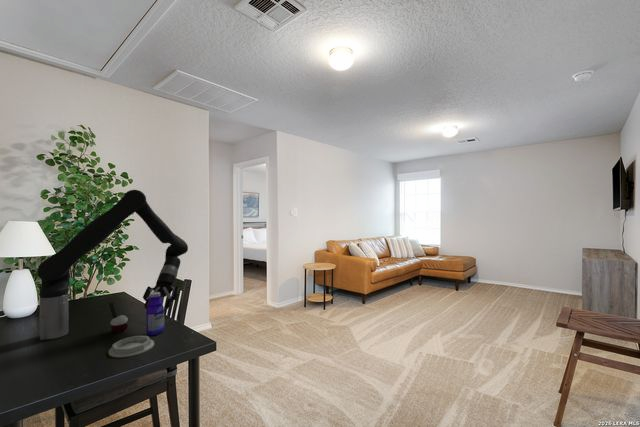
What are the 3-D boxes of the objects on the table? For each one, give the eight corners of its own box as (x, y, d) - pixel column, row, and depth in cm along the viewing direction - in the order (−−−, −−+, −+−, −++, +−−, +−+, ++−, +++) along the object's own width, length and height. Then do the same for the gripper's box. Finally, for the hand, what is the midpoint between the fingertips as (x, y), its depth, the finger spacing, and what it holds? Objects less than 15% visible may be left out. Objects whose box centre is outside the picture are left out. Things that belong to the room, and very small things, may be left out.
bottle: (155, 336, 128) (154, 295, 128) (143, 335, 130) (143, 294, 129) (167, 330, 135) (166, 291, 135) (155, 329, 137) (155, 290, 137)
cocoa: (130, 332, 134) (131, 305, 134) (113, 336, 130) (115, 308, 129) (122, 326, 140) (123, 300, 140) (106, 329, 135) (107, 302, 135)
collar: (112, 361, 107) (112, 354, 107) (105, 348, 118) (105, 341, 118) (159, 348, 117) (159, 342, 117) (148, 336, 128) (148, 331, 128)
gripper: (149, 272, 141) (136, 304, 130) (180, 272, 142) (170, 303, 131) (154, 281, 147) (142, 312, 135) (185, 280, 148) (175, 312, 136)
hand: (156, 308), depth 133 cm, fingers open, 8 cm apart
